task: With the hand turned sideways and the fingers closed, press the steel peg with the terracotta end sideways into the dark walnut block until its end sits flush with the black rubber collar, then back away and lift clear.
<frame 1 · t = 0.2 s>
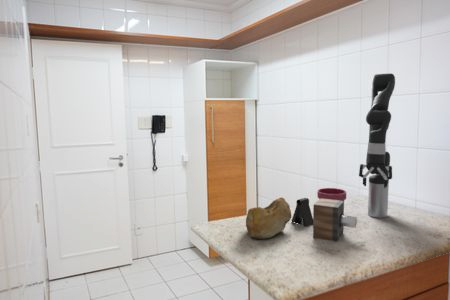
hand: (374, 186, 158), 18 cm above the worktop, tool pointing down, fingers open, 8 cm apart
peg: (343, 220, 140), point 8 cm above the worktop, slide at 6.0 cm
housing: (328, 235, 144), on the worktop
rough brown rock: (264, 232, 149), on the worktop
phone stand: (302, 223, 161), on the worktop
plant pot: (331, 215, 173), on the worktop
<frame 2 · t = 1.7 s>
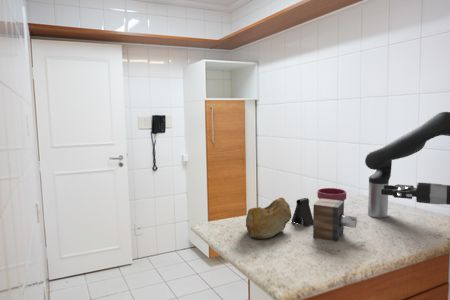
hand: (382, 189, 131), 22 cm above the worktop, tool horizontal, fingers open, 7 cm apart
nothing on the worktop moved.
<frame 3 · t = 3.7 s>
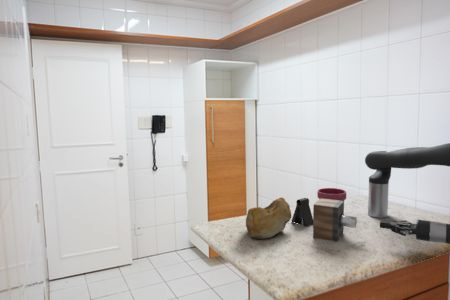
hand: (380, 224, 133), 8 cm above the worktop, tool horizontal, fingers closed
nothing on the worktop moved.
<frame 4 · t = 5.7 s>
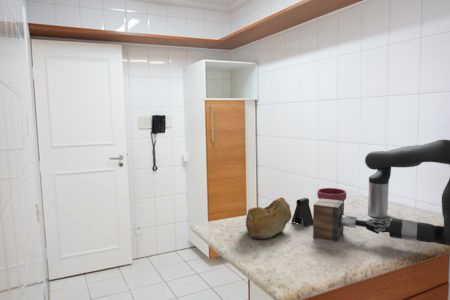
hand: (356, 222, 137), 7 cm above the worktop, tool horizontal, fingers closed
peg: (343, 220, 140), point 8 cm above the worktop, slide at 6.0 cm, touching gripper
everything else where it was.
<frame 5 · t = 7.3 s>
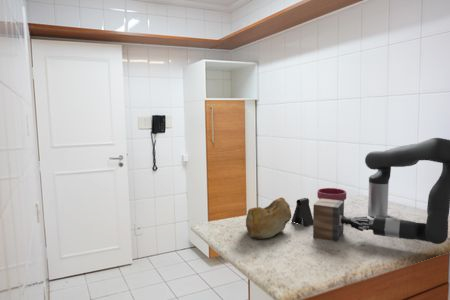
hand: (341, 220, 140), 7 cm above the worktop, tool horizontal, fingers closed
peg: (329, 218, 143), point 8 cm above the worktop, slide at 0.2 cm, touching gripper
everything else where it was.
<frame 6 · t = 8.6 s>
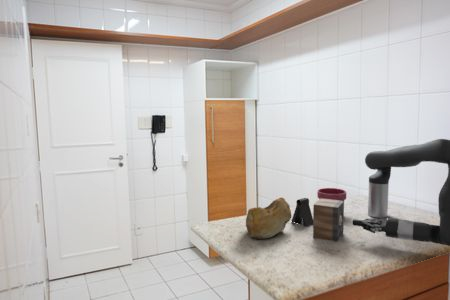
hand: (352, 222, 138), 8 cm above the worktop, tool horizontal, fingers closed
peg: (328, 218, 143), point 8 cm above the worktop, slide at 0.0 cm
everything else where it was.
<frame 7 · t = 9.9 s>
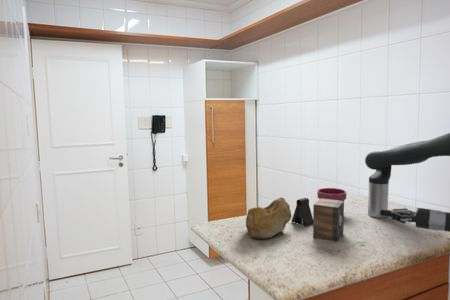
hand: (380, 212, 135), 12 cm above the worktop, tool horizontal, fingers closed
nothing on the worktop moved.
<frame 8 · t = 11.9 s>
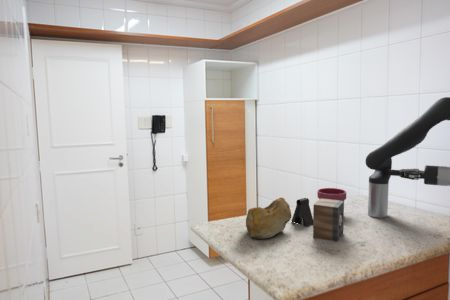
hand: (389, 172, 137), 28 cm above the worktop, tool horizontal, fingers closed
nothing on the worktop moved.
at the end: peg slide at 0.0 cm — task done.
